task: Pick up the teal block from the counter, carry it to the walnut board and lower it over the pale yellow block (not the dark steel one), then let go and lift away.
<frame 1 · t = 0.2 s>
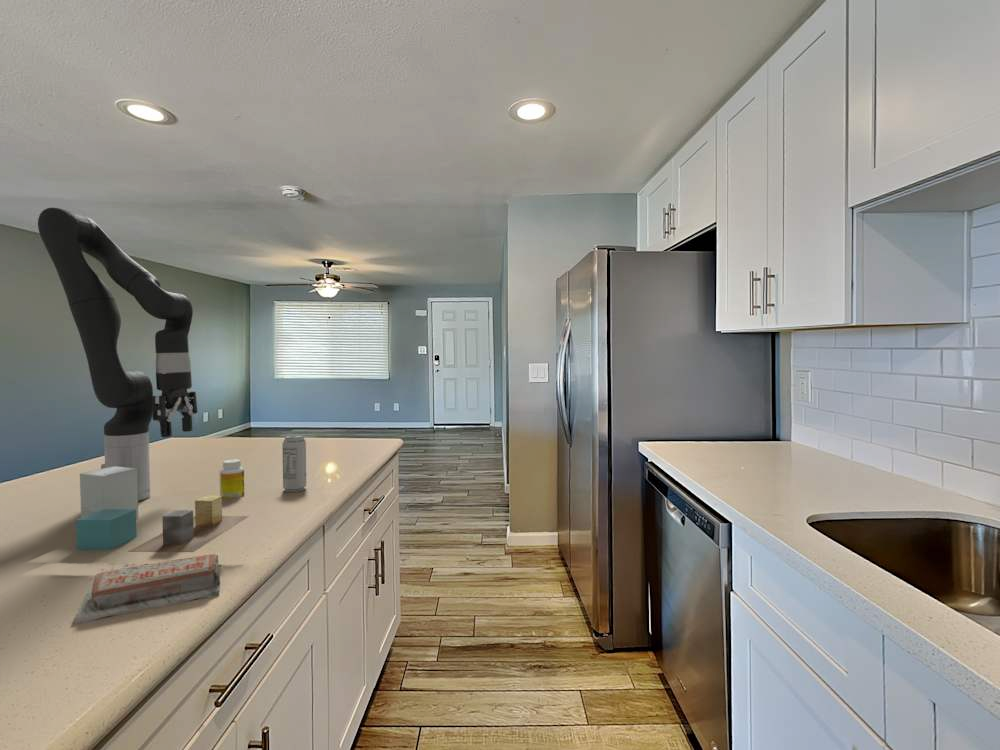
hand: (177, 434, 127), 17 cm above the countertop, tool pointing down, fingers open, 8 cm apart
supplement box: (110, 529, 107), on the countertop
energy drink can: (294, 490, 138), on the countertop
teal block: (107, 550, 95), on the countertop
packaged product: (154, 598, 78), on the countertop
supplement bottle: (232, 500, 128), on the countertop
post board: (194, 539, 101), on the countertop
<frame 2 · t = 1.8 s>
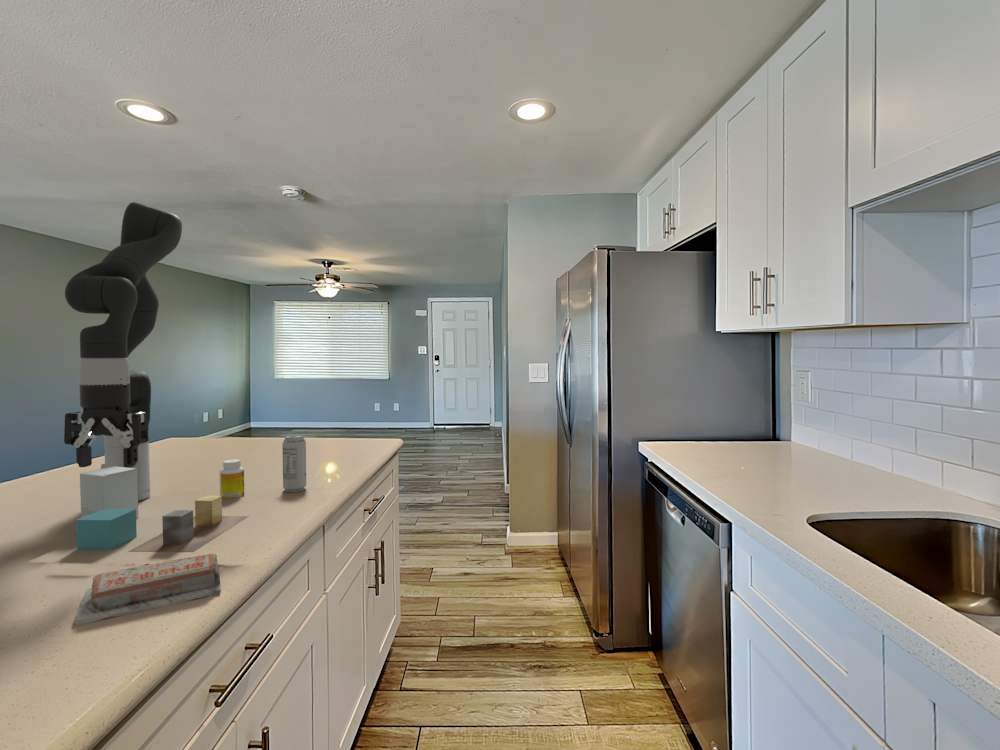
hand: (107, 466, 95), 16 cm above the countertop, tool pointing down, fingers open, 8 cm apart
nothing on the countertop moved.
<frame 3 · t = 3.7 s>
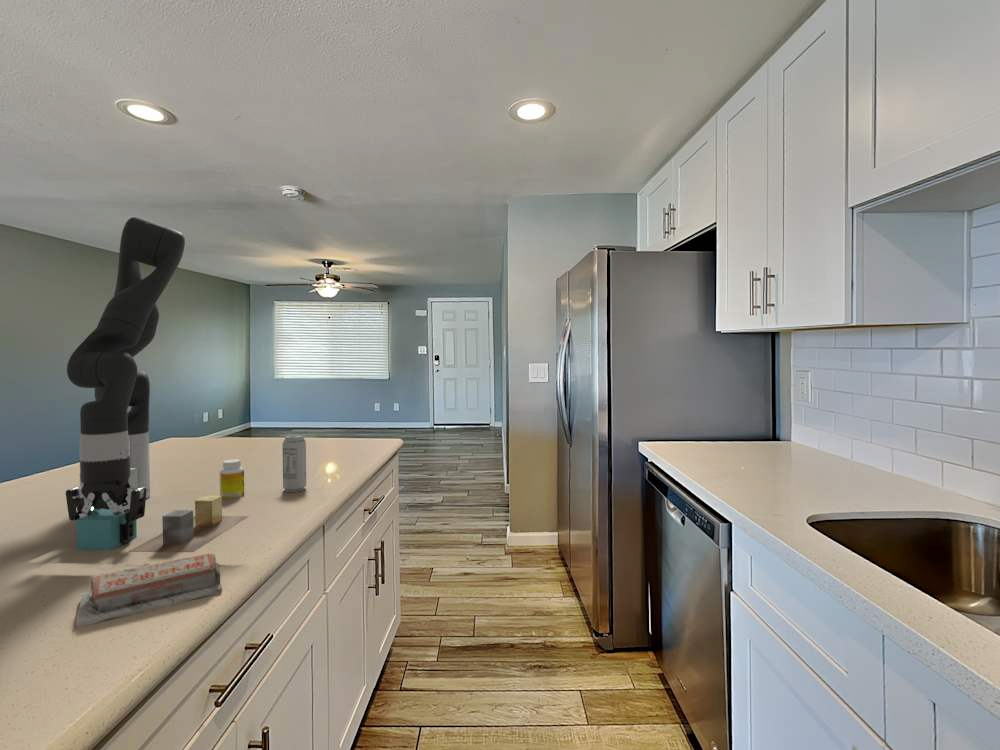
hand: (107, 541, 95), 2 cm above the countertop, tool pointing down, fingers closed on teal block, 6 cm apart
teal block: (108, 550, 95), on the countertop, touching gripper
everything else where it was.
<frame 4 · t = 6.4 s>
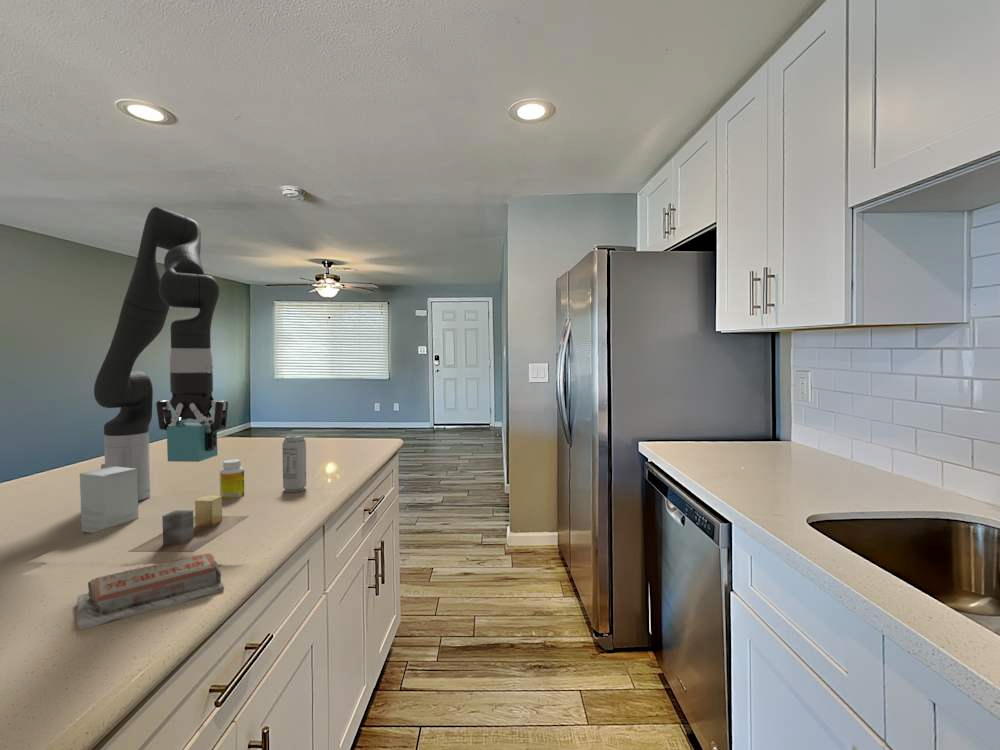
hand: (193, 449, 104), 18 cm above the countertop, tool pointing down, fingers closed on teal block, 6 cm apart
teal block: (193, 458, 104), point 16 cm above the countertop, touching gripper
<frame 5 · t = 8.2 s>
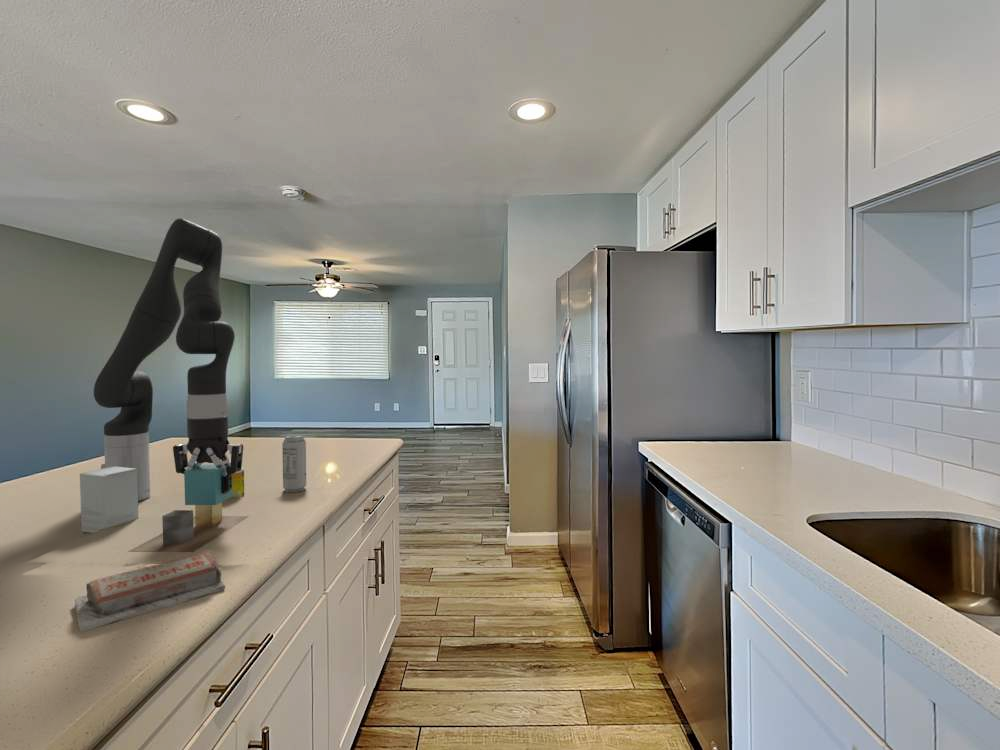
hand: (209, 492, 106), 8 cm above the countertop, tool pointing down, fingers closed on teal block, 6 cm apart
teal block: (209, 500, 106), point 6 cm above the countertop, touching gripper
when the fingers open (5 cm above the countertop, at t = 9.5 s): teal block drops 1 cm, resting on post board.
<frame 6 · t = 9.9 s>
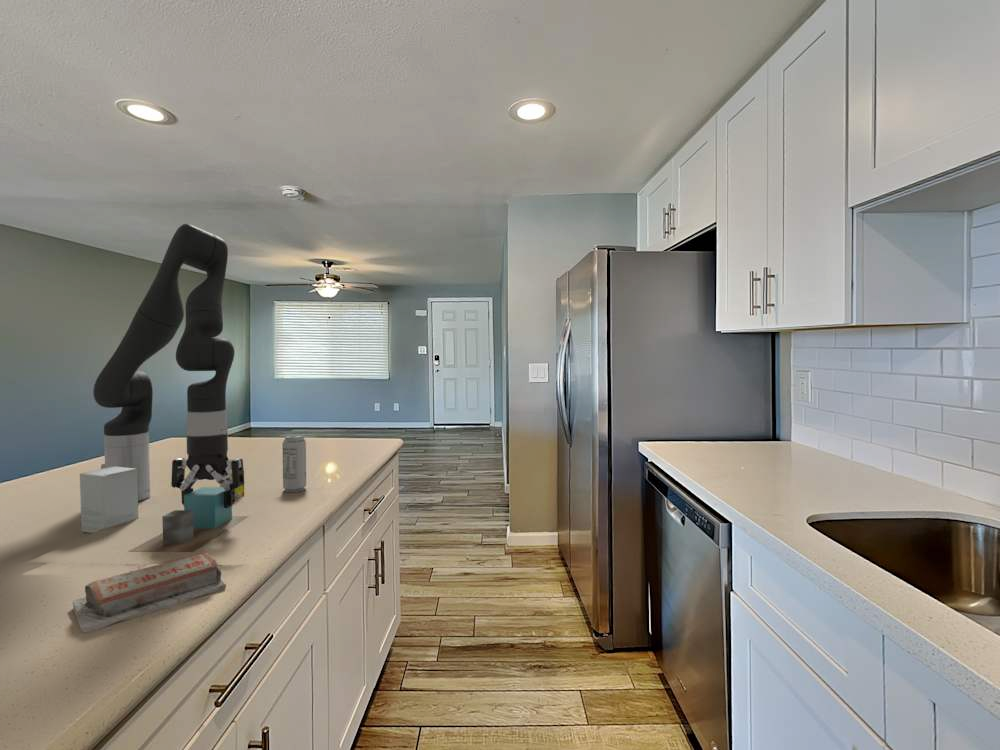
hand: (208, 506, 106), 5 cm above the countertop, tool pointing down, fingers open, 8 cm apart
teal block: (209, 523, 106), point 1 cm above the countertop, touching post board
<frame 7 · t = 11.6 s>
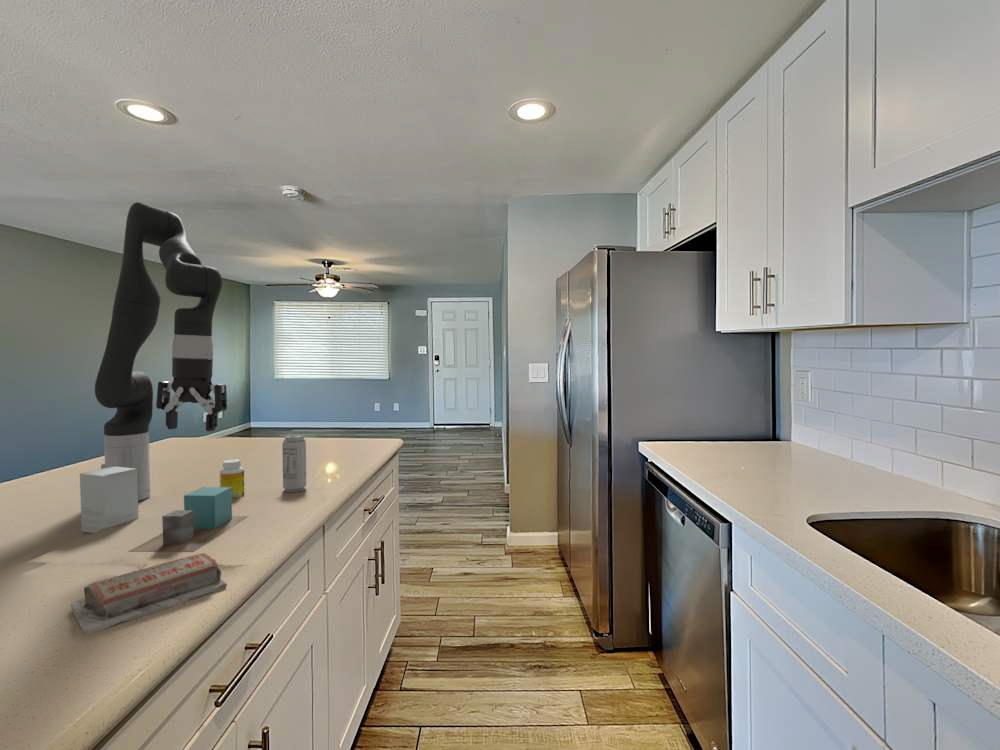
hand: (191, 429, 109), 21 cm above the countertop, tool pointing down, fingers open, 8 cm apart
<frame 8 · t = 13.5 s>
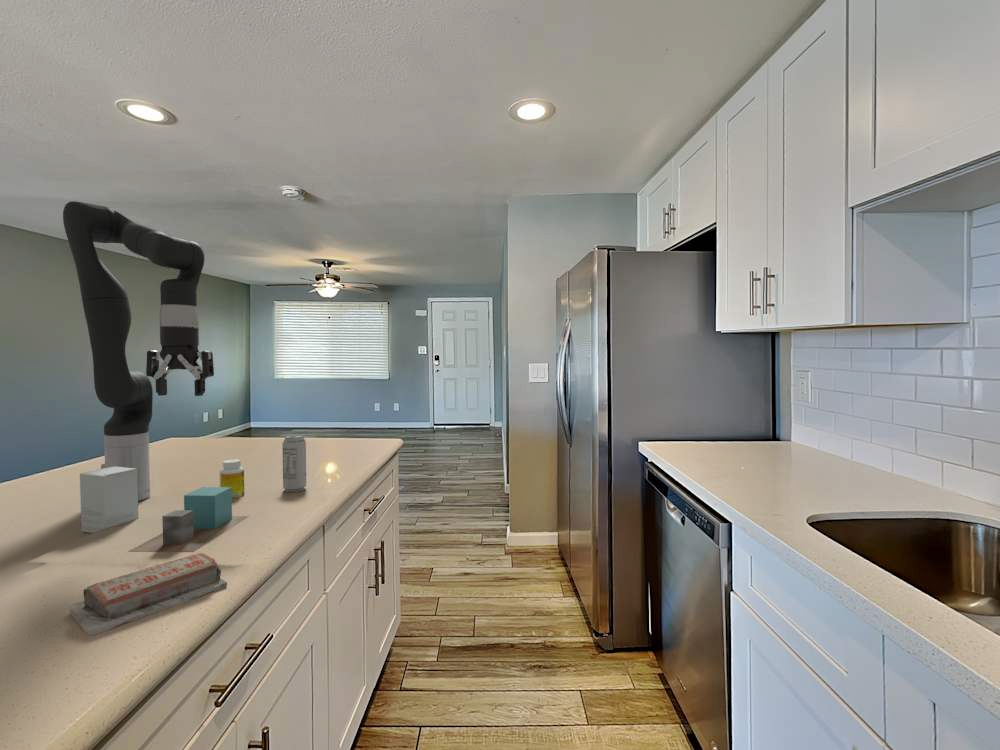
hand: (180, 395, 115), 28 cm above the countertop, tool pointing down, fingers open, 8 cm apart
at the end: teal block 0.0 cm from the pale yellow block (horizontally); teal block point 1.5 cm above the countertop; teal block tilted 0° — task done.
